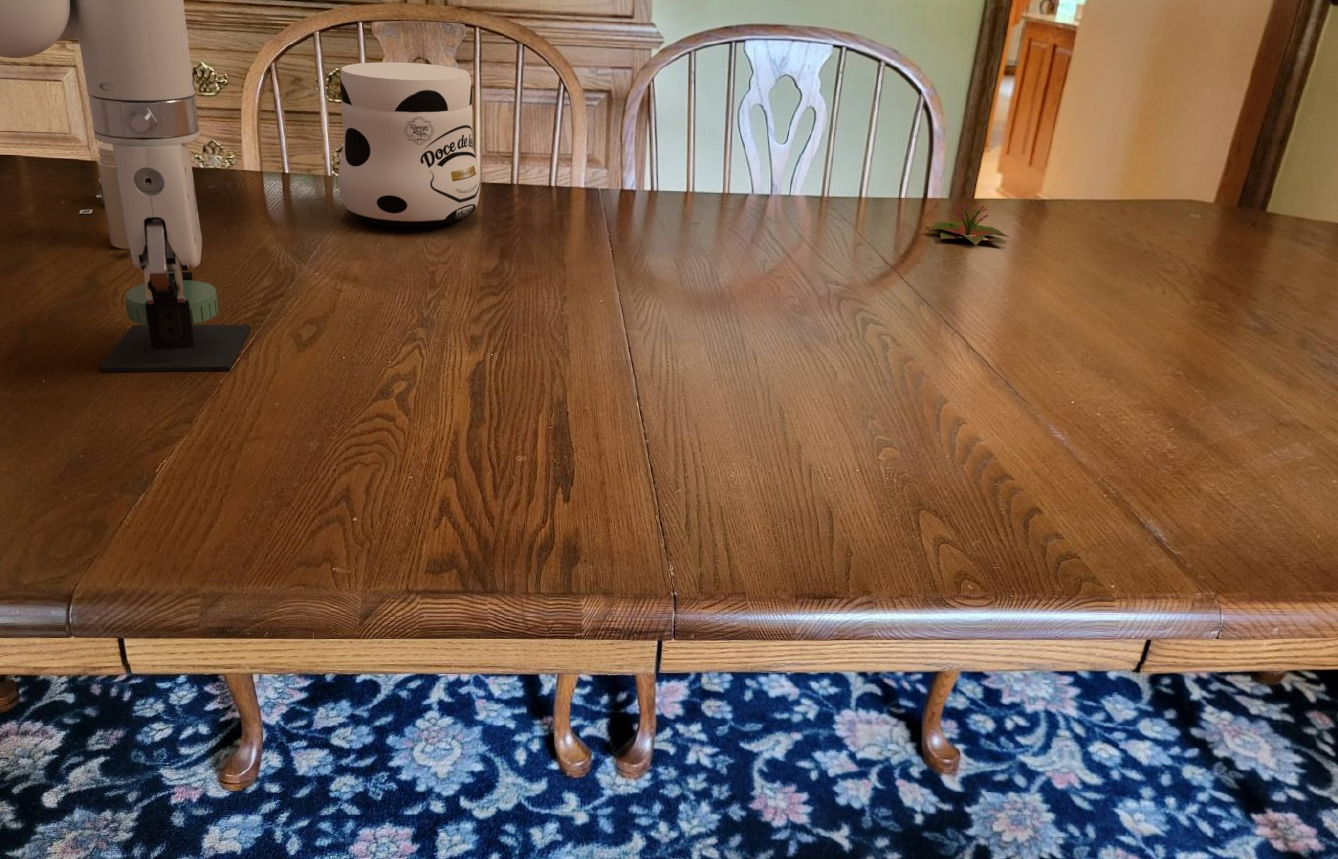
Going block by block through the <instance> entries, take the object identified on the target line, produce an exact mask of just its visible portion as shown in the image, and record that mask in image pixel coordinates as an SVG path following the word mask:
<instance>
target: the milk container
mask: <svg viewBox="0 0 1338 859" xmlns="http://www.w3.org/2000/svg"><path fill="white" fill-rule="evenodd" d="M339 74H340V76H339V80H340V81H339V91H340V98H341V102H340V114H341V123H342V136H343V138H342V140H343V142H342V149H341V150H342V151H341V155H340V161H339V165H338V170H337V172H338V174H337V178H338V179H337V181H338V182H337V183H338V188H339V193H340V197H341V198H340V199H341V201H342V204H343V206H344V208H345V209H346V210H347V212H349V213H350V214H351V215H353V216H354V217H356V218H358V219H360V220H361V221H366V222H370V223H373V224H377V225H381V226H388V227H389V226H391V227H392V226H393V227H397V228H424V227H438V226H443V225H447V224H453V223H457V222H459V221H462V220H465V219H467V218H468V217H469V216H471V215H472V214H473V213H474V212H475V211H476V208H477V207H478V205H479V199H480V195H481V173H480V169H479V165H478V162H477V158H476V154H475V150H474V143H473V106H472V105H473V87H472V79H471V74H470V73H469V72H468V71H467V70H465V69H462V68H458V67H453V66H447V65H440V64H431V63H430V64H429V63H418V62H401V61H400V62H398V61H397V62H394V61H393V62H391V61H390V62H389V61H388V62H387V61H386V62H381V61H380V62H378V61H377V62H360V63H353V64H347V65H345V66H342V67H341V68H340V73H339Z"/></svg>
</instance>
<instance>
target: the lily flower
mask: <svg viewBox="0 0 1338 859" xmlns="http://www.w3.org/2000/svg"><path fill="white" fill-rule="evenodd" d="M962 205H963V207H962V206H961V205H960V204H959V203H956V204H955V206H956V207H958V208H960V209H961V211H962V212H963V213H964V215H965V216H966V217H965V216H963V215H962V213H961V211H960V209H957V213H956V217H958V218H961V220H962V222H959V221H955V220H953V221H952V222H947V221H931V223H932V224H933V225H932V226H930V228H925V231H942V232H941V233H940V238H939V239H940V240H944V239H946V240H947V239H959V238H958V237H959V235H958V234H960V236H961V235H962V234H965V235H970V234H971V235H976V236H972V237H969V236H965V235H963V236H962V237H965V238H960V239H961V240H962V239H963V240H969V241H970V242H972V243H973V244H974V245H975V246H977V245H978V244H979V243H980V241H983V240H982V239H983V238H987V239H988V241H987V240H984V241H986V242H993V243H997V244H1002V243H1003V244H1002V245H1007V246H1008V243H1006V242H1005V241H1004V239H1002V237H1006V238H1010V236H1009V235H1007V234H1006V233H1004V232H1002V231H1001V230H999V229H997V228H995V227H994V226H989V225H988V226H985V225H981V224H979V223H980V222H981V221H983V220H984V219H986V218H988V217H989V215H988V214H985V215H984V216H983V217H981V218H979V219H977V218H978V217H979V216H980V215H981V213H983V212H986V211H987V210H988V208H986V205H983V206H981V207H980V205H981V203H979V204H978V205H976V208H975V209H974V211H973V213H972V214H971V212H972V209H970V210H969V209H968V208H967V205H966V203H965V202H962ZM977 208H979V209H978V210H977ZM970 214H971V216H970ZM994 235H995V236H994ZM998 236H1001V237H998ZM998 242H1000V243H998Z"/></svg>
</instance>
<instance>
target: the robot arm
mask: <svg viewBox="0 0 1338 859" xmlns="http://www.w3.org/2000/svg"><path fill="white" fill-rule="evenodd" d="M184 1H185V0H0V57H2V58H7V59H22V58H30V57H33V56H36V55H39V54H41V53H43V52H45V51H47V50H48V49H50V48H51V47H53V46H54V45H55V44H56V42H57V41H64V40H65V41H66V40H77V42H78V43H79V47H80V54H81V60H82V66H83V73H84V80H85V85H86V91H87V98H88V104H89V109H90V110H89V111H90V115H91V121H92V122H91V123H92V127H93V134H94V138H95V140H97V141H99V142H101V143H109V144H113V151H114V158H115V165H116V172H117V179H118V185H119V192H120V198H121V204H122V210H123V216H124V222H125V227H126V232H127V238H128V242H129V247H130V249H129V251H130V252H129V253H130V256H131V260H132V264H133V266H134V267H135V268H137V269H138V270H140V271H143V278H144V284H145V289H146V299H147V302H145V306H146V313H147V319H148V326H149V332H150V339H151V345H152V348H153V349H155V350H165V349H182V348H191V347H193V346H194V335H193V328H192V325H193V324H192V320H191V313H190V305H189V300H185V295H184V284H183V280H192V281H194V278H193V272H192V271H190V268H191V269H196V268H197V267H198V266H199V265H200V264H201V259H202V250H203V249H202V248H203V237H202V230H201V225H200V217H199V210H198V202H197V195H196V188H195V181H194V173H193V167H192V160H191V156H190V151H189V145H188V143H191V142H194V141H196V140H197V141H198V140H199V139H200V138H201V134H200V128H199V118H198V111H197V104H196V95H195V94H196V93H195V85H194V78H193V77H194V76H193V69H192V62H191V52H190V45H189V44H190V43H189V37H188V29H187V21H186V20H187V19H186V11H185V2H184ZM189 266H190V267H189ZM174 280H175V281H174Z"/></svg>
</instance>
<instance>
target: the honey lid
mask: <svg viewBox="0 0 1338 859" xmlns="http://www.w3.org/2000/svg"><path fill="white" fill-rule="evenodd" d="M174 281H175V280H174ZM183 284H184V295H185V300H189V305H190V313H191V320H192V325H197V324H200V323H203V322H207V321H209V320H211V319H213V318H215V317H216V316H217V315H218V313H219V311H220V304H219V296H218V294H217V288H216V286H214V285H212V284H210V283H207V282H203V281H199V280H193V281H192V280H183ZM145 302H147V299H146V289H145V283H142V284H139V285H136V286H134V287H131V288H130V289H128V290H127V291H126V292H125V307H126V314H127V318H129V319H130V321H132V322H133V323H135V324H137V325H146V326H148V319H147V313H146V306H145Z"/></svg>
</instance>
